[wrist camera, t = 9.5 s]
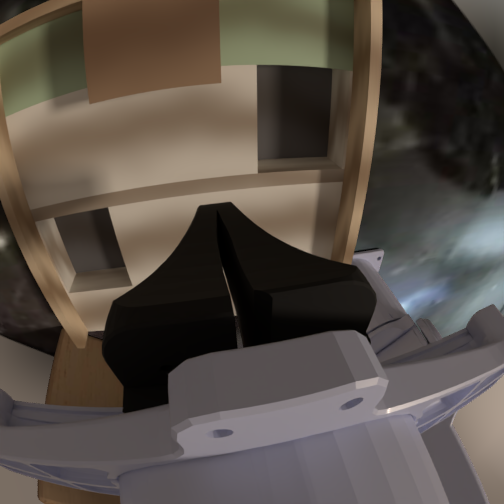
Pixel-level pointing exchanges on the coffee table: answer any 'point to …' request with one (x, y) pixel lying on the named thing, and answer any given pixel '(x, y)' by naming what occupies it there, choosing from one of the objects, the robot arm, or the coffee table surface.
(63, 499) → the wooden block
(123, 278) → the divided wooden-rimmed tray
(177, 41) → the walnut cube
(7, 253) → the coffee table surface
